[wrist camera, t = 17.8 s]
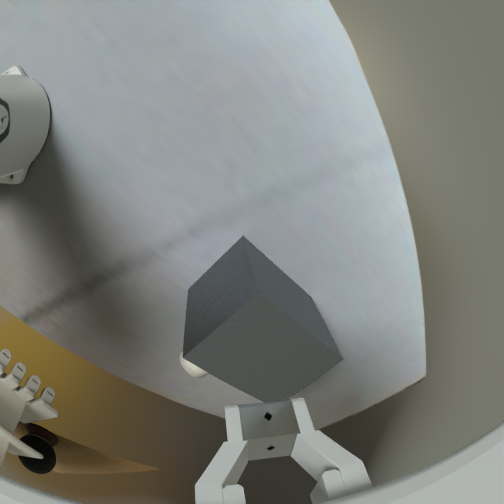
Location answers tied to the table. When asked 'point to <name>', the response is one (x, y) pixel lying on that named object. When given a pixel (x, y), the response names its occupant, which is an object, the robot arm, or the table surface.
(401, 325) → the table surface
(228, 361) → the control box
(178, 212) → the table surface
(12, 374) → the white spaceship model
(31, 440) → the black crystal ball
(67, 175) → the table surface
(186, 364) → the ivory knob
